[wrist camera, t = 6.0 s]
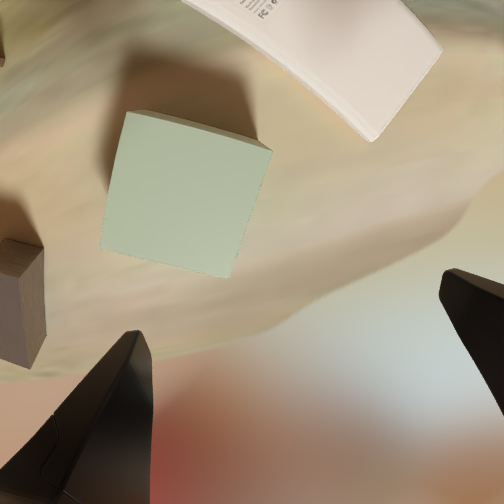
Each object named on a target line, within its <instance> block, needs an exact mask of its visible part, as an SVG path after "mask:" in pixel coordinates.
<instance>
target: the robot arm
mask: <svg viewBox="0 0 504 504" xmlns="http://www.w3.org/2000/svg"><path fill="white" fill-rule="evenodd" d="M439 299H440V301H441V303H442V305H443V307H444V309H445V311H446V312H447V314H448V316H449V318H450V320H451V322H452V324H453V326H454V328H455V330H456V332H457V334H458V336H459V337H460V339H461V341H462V343H463V344H464V346H465V347H466V349H467V351H468V352H469V354H470V356H471V357H472V359H473V360H474V362H475V364H476V366H477V368H478V369H479V371H480V373H481V374H482V376H483V378H484V380H485V381H486V383H487V385H488V387H489V389H490V391H491V393H492V394H493V396H494V398H495V400H496V402H497V404H498V406H499V408H500V409H501V412H502V414H503V415H504V284H501V283H498V282H495V281H492V280H489V279H486V278H483V277H480V276H477V275H474V274H471V273H468V272H465V271H462V270H459V269H455V268H453V269H449V270H446V271H445V272H444V273H443V276H442V281H441V285H440V290H439ZM152 386H153V385H152V358H151V353H150V350H149V348H148V345H147V343H146V341H145V338H144V336H143V333H142V332H141V331H140V330H134V331H127V332H125V333H124V334H123V335H122V336H121V338H120V339H119V340H118V341H117V342H116V343H115V344H114V345H113V346H112V347H111V348H110V350H109V351H108V352H107V353H106V354H105V355H104V356H103V357H102V358H101V360H100V361H99V362H98V363H97V364H96V365H95V366H94V367H93V368H92V370H91V371H90V372H89V373H88V374H87V375H86V376H85V377H84V379H83V380H82V381H81V382H80V383H79V384H78V385H77V387H76V388H75V389H74V390H73V391H72V392H71V393H70V395H69V396H68V397H67V398H66V399H65V400H64V402H63V403H62V404H61V405H60V406H59V407H58V409H57V410H56V411H55V412H54V415H51V416H50V418H49V419H48V420H47V421H46V422H45V423H44V425H43V426H42V427H41V428H40V429H39V430H38V431H37V432H36V434H35V435H34V436H33V437H32V438H31V439H30V440H29V441H28V442H27V443H26V444H25V445H24V446H23V447H22V448H21V449H20V450H19V451H18V452H17V453H16V454H15V455H14V456H13V457H12V458H11V459H10V460H9V461H8V462H7V463H6V464H5V465H4V466H3V467H2V468H1V469H0V504H150V464H151V441H152V423H153V387H152Z"/></svg>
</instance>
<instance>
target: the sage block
mask: <svg viewBox="0 0 504 504" xmlns="http://www.w3.org/2000/svg"><path fill="white" fill-rule="evenodd" d="M272 154H273V151H272V150H271V149H269V148H268V147H267V146H265V145H264V144H262V143H261V142H260V141H258V140H256V139H252V138H249V137H246V136H243V135H240V134H236V133H233V132H230V131H226V130H223V129H219V128H216V127H212V126H209V125H205V124H202V123H198V122H194V121H190V120H187V119H183V118H179V117H175V116H171V115H167V114H163V113H158V112H154V111H150V110H145V109H142V110H135V111H128V112H127V113H126V117H125V121H124V124H123V128H122V132H121V136H120V140H119V144H118V148H117V153H116V157H115V162H114V166H113V171H112V176H111V181H110V186H109V191H108V197H107V202H106V208H105V214H104V220H103V227H102V234H101V241H100V249H103V250H107V251H111V252H115V253H119V254H123V255H127V256H131V257H135V258H140V259H144V260H148V261H152V262H156V263H160V264H165V265H169V266H173V267H177V268H182V269H186V270H190V271H195V272H199V273H204V274H208V275H212V276H217V277H221V278H226V279H229V276H230V273H231V270H232V267H233V264H234V261H235V258H236V255H237V253H238V250H239V247H240V244H241V241H242V238H243V235H244V233H245V230H246V227H247V224H248V221H249V218H250V216H251V213H252V210H253V207H254V204H255V201H256V199H257V196H258V193H259V190H260V187H261V184H262V182H263V179H264V176H265V173H266V170H267V168H268V165H269V162H270V159H271V156H272Z"/></svg>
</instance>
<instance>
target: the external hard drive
mask: <svg viewBox="0 0 504 504" xmlns="http://www.w3.org/2000/svg"><path fill="white" fill-rule="evenodd" d="M181 1H182V2H184V3H185V4H187V5H189V6H190V7H192V8H194V9H196V10H197V11H199V12H201V13H202V14H204V15H205V16H207V17H209V18H210V19H212V20H214V21H215V22H217V23H218V24H220V25H221V26H223V27H225V28H226V29H228V30H229V31H231V32H232V33H234V34H235V35H237V36H238V37H240V38H241V39H243V40H244V41H245V42H247V43H248V44H250V45H251V46H253V47H254V48H255V49H257V50H258V51H260V52H261V53H262V54H264V55H265V56H266V57H268V58H269V59H270V60H272V61H273V62H274V63H276V64H277V65H278V66H280V67H281V68H282V69H284V70H285V71H286V72H288V73H289V74H290V75H291V76H293V77H294V78H295V79H297V80H298V81H299V82H300V83H301V84H303V85H304V86H305V87H306V88H308V89H309V90H310V91H311V92H312V93H314V94H315V95H316V96H317V97H318V98H319V99H320V100H322V101H323V102H324V103H325V104H326V105H327V106H329V107H330V108H331V109H332V110H333V111H334V112H335V113H337V114H338V115H339V116H340V117H341V118H342V119H343V120H344V121H345V122H346V123H347V124H349V125H350V126H351V127H352V128H353V129H354V130H355V131H356V132H357V133H358V134H359V135H360V136H361V137H362V138H363V139H364V140H366V141H369V142H372V141H374V140H375V139H376V138H377V137H378V136H379V135H380V134H381V133H382V131H383V130H384V129H385V127H386V126H387V125H388V124H389V122H390V121H391V120H392V118H393V117H394V116H395V114H396V113H397V112H398V111H399V109H400V108H401V107H402V105H403V104H404V103H405V101H406V100H407V99H408V98H409V96H410V95H411V94H412V92H413V91H414V90H415V88H416V87H417V85H418V84H419V83H420V82H421V81H422V79H423V78H424V77H425V75H426V74H427V72H428V71H429V70H430V69H431V67H432V66H433V65H434V63H435V62H436V61H437V59H438V58H439V57H440V55H441V53H442V52H443V47H442V46H441V45H440V44H439V42H438V41H437V40H436V39H435V38H434V36H433V35H432V34H431V33H430V32H429V30H428V29H427V28H426V27H425V26H424V25H423V24H422V22H421V21H420V20H419V19H418V18H417V17H416V16H415V15H414V14H413V13H412V12H411V11H410V9H409V8H408V7H407V6H406V5H405V4H404V3H403V2H402V1H401V0H181Z"/></svg>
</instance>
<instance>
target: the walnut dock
mask: <svg viewBox="0 0 504 504" xmlns="http://www.w3.org/2000/svg"><path fill="white" fill-rule="evenodd" d="M4 61H5V58H0V67H3V65H4Z"/></svg>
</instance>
